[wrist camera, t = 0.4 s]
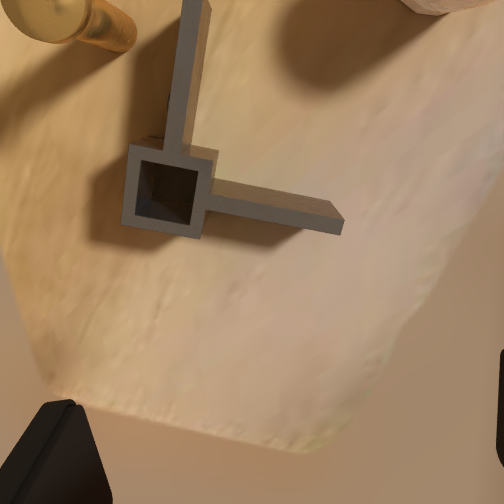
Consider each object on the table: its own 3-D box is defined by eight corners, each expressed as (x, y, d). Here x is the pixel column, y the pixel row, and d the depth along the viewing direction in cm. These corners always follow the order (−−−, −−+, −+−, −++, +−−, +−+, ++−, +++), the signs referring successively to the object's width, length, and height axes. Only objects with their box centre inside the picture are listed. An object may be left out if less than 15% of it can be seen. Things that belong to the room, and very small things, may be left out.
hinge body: (164, -2, 32) (146, -23, 27) (371, 45, 33) (396, 35, 28) (139, 205, 37) (120, 224, 32) (319, 239, 39) (332, 264, 33)
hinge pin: (93, -4, 32) (-2, -65, 20) (148, 8, 32) (87, -44, 20) (89, 54, 33) (-2, 31, 21) (141, 66, 34) (81, 49, 22)
